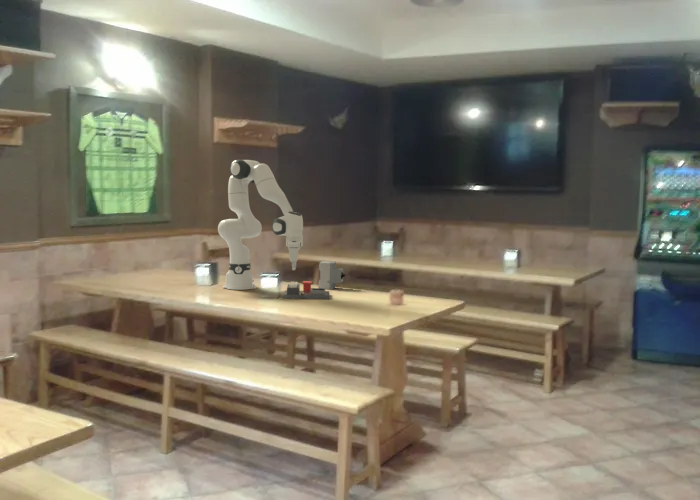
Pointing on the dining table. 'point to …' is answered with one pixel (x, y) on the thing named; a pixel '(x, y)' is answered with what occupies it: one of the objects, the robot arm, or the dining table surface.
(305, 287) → the lockout cap
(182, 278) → the dining table surface
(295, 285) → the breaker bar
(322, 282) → the circuit breaker
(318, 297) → the breaker panel
